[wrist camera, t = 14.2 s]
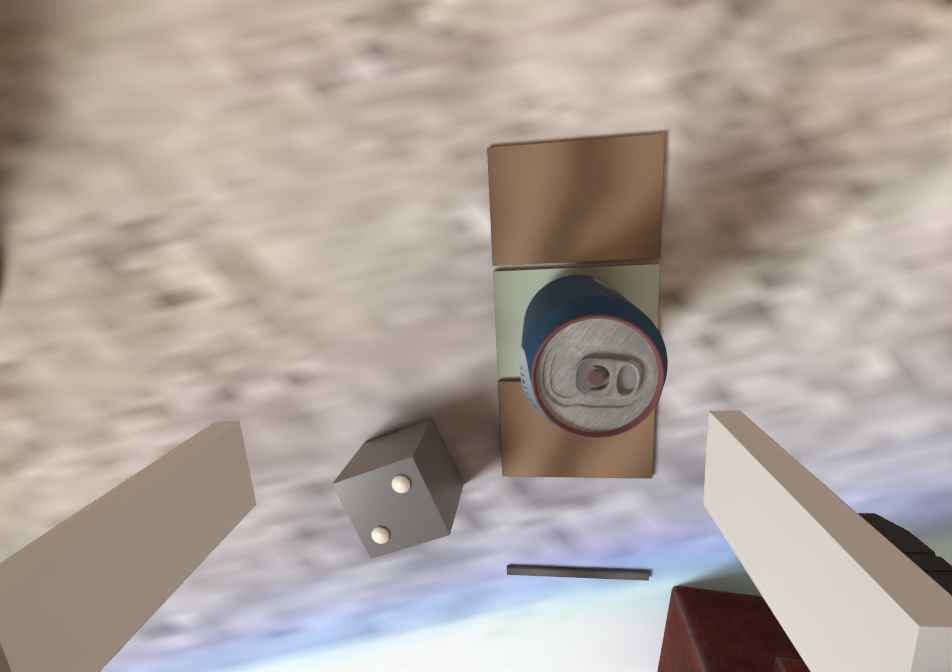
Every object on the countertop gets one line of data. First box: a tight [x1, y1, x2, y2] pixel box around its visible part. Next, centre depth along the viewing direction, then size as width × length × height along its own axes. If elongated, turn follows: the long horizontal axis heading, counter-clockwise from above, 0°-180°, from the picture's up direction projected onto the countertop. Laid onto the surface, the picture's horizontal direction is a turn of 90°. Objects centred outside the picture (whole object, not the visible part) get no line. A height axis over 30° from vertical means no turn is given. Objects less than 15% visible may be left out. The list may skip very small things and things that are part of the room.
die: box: [332, 419, 463, 558], centre depth 33 cm, size 6×6×6 cm
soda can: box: [519, 275, 668, 438], centre depth 26 cm, size 7×7×12 cm
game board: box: [487, 134, 664, 580], centre depth 33 cm, size 11×32×1 cm, turn 3°
